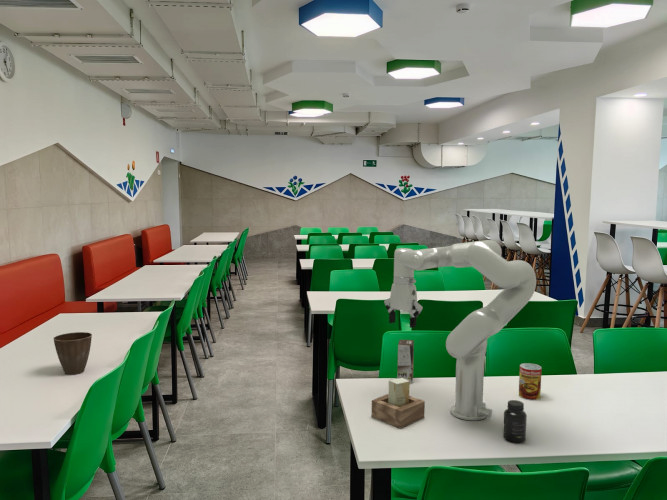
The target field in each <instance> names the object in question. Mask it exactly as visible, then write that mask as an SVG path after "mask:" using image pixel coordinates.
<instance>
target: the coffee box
mask: <svg viewBox="0 0 667 500" xmlns="http://www.w3.org/2000/svg"><path fill="white" fill-rule="evenodd" d="M414 342H415V341H414V340H412V339H399V341H398V344H397V373H396V374H397V375H396V377H397V378H396V379H399V378H404V379H406V380H408V381H410V384H412V383H413V379H414V361H415V360H414V358H415V357H414V352H415V350H414V349H415V348H414V347H415V345H414V344H415V343H414Z"/></svg>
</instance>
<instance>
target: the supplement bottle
mask: <svg viewBox="0 0 667 500" xmlns="http://www.w3.org/2000/svg"><path fill="white" fill-rule="evenodd" d="M506 407H507V408H506V409H505V410H504V412H503V428H502V429H503V431H502V432H503V433H502V436H503V438H504V440H505V441H507V442H509V443H512V444H517V445H518V444H523V443H524V442H526V439H527V438H526V437H527V420H528V419H527V413H526V411H524V410H525V405H524V402H522V401H520V400H516V399H515V400H514V399H512V400H511V399H510V400H508V401H507V406H506Z"/></svg>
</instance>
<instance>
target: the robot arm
mask: <svg viewBox="0 0 667 500" xmlns="http://www.w3.org/2000/svg"><path fill="white" fill-rule="evenodd" d="M393 257H394V258H393V283H392V284H391V289H390V297H389V298H387V299H384V300H383V301H384V302H383V303H384V306H385V308H386V309H387V313H388V323H389V324H395V323H396V319H397V318H396V315H397V314H396V310H397V311H401V312H406V313H409V315H410V317H409V328H410V329H412V328H415V327H416V326H417V317H418V316H419V315H420V314H421V312H422V311H423V306H422V305H421V304H420V303H419V302H418V295H417V294H418V293H417V292H418V291H417V287H416V285H415V284H416V282H417V280H416V279H415V276H414V273H415V271H424V270H428V269H434V268H445V267H454V268H458V269H459V268H460V269H461V268H470V267H473V268H474V270H475V269H476V271H478V272H479V273H480V274H481V275H483V276H484V277H485V278H487V279H488V280H489V281H491V283H493V284H494V285H496V286H498V287H499V288H501V289H503V290H502V291H500V292H499V293H498V295H496V297H494V299H492V300H491V301H490V302H489V303H488V304H487V305H486V306H483V307H481V308H479V309H475V310H474V311H472V312H471V313H469V314H467V316H466V317H465V318H464V319H462V321H461V322H459V324H458V325H457V326H455V328H454V329H453V330H452V331H451V332H450V333H449V334H448V336H447V338H446V340H445V348H446V351H447V353H448V354H449V355H450V356H451V357H452V358H455V359H456V361H455V362H456V363H455V392H454V394H455V395H454V398H455V399H454V405H452V406H451V407H450V414H451V415H452V416H454V417H455V418H458V419H462V420H465V421H481V420H483V419H485V418H487V417H488V418H491V417H492V416H493V409H492V408H487V407H486V404H487V403H486V402H484V375H485V358H486V352H487V346H488V339H489V338H490V337H492V336H494V335H496V334H498V333H499V332H501V330H502V329H504V327H505V326H506V325H507V324H508V323H509V322H510V321H511V320H512V319H513V318H514V317H515V316H516V315H517V314H518V313H519V312H520V311H521V310H522V309H523V308H524V307H525V306H526V305H527V304H528V303H529V301H530V300H531V299H532V297H533V296H534V293H535V290H536V287H537V277H536V276H537V275H536V273H535V270H534V268H533V266H532V265H531V264H530V263H528V262H527V261H524V260H521V259H516V260H510V261H508V260H507V259H505V258H504V257H503V256H502V247H501V246H500V244H499V243H498V242H497V241H495V240H491V239H486V240H485V239H484V240H477V241H476V240H475V241H470V242H469V241H468V242H459V243H453V244H452V245H449V246H448V245H447V246H441V247H440V246H439V247H433V248H432V247H431V248H422V249H412V248H407V247H406V248H405V247H400V248H396V249H395V250H394V255H393Z"/></svg>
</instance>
